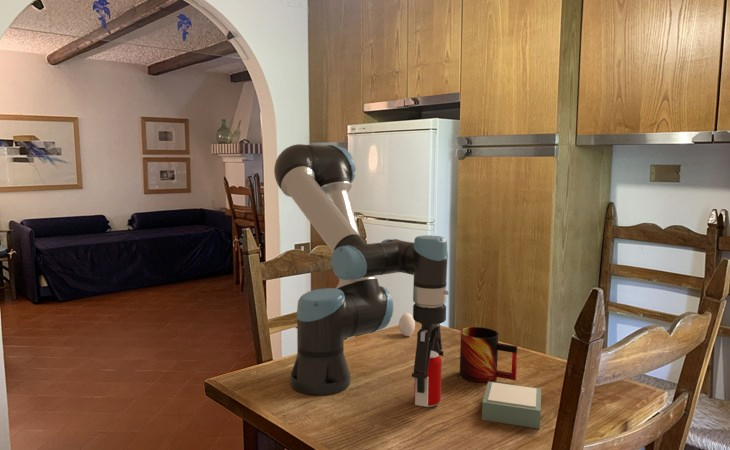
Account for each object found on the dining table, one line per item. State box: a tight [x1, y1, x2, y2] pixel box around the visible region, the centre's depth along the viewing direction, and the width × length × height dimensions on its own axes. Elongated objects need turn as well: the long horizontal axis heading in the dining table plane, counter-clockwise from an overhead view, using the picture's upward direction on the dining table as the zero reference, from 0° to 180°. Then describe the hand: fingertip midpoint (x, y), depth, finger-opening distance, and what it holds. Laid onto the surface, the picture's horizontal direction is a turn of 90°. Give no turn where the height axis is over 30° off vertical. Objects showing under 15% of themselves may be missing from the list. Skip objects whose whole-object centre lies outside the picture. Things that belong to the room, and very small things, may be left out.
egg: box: [398, 312, 416, 337], centre depth 173 cm, size 5×5×8 cm
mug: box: [459, 326, 518, 385], centre depth 139 cm, size 10×14×12 cm
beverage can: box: [413, 351, 442, 408], centre depth 123 cm, size 6×6×12 cm
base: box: [481, 381, 542, 430], centre depth 119 cm, size 12×12×4 cm
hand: (427, 393), depth 123 cm, fingers open, 13 cm apart
